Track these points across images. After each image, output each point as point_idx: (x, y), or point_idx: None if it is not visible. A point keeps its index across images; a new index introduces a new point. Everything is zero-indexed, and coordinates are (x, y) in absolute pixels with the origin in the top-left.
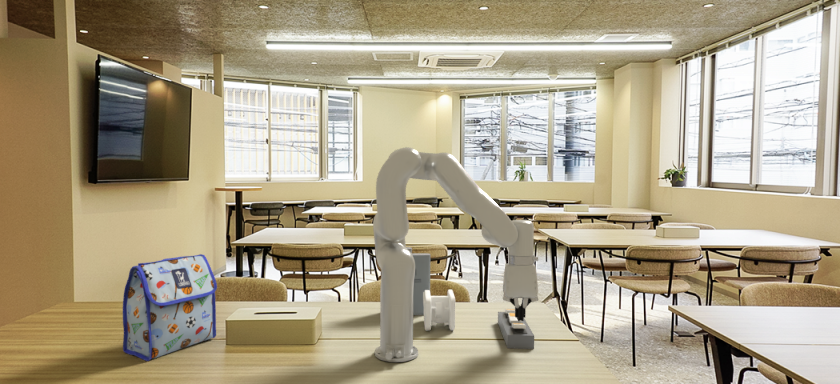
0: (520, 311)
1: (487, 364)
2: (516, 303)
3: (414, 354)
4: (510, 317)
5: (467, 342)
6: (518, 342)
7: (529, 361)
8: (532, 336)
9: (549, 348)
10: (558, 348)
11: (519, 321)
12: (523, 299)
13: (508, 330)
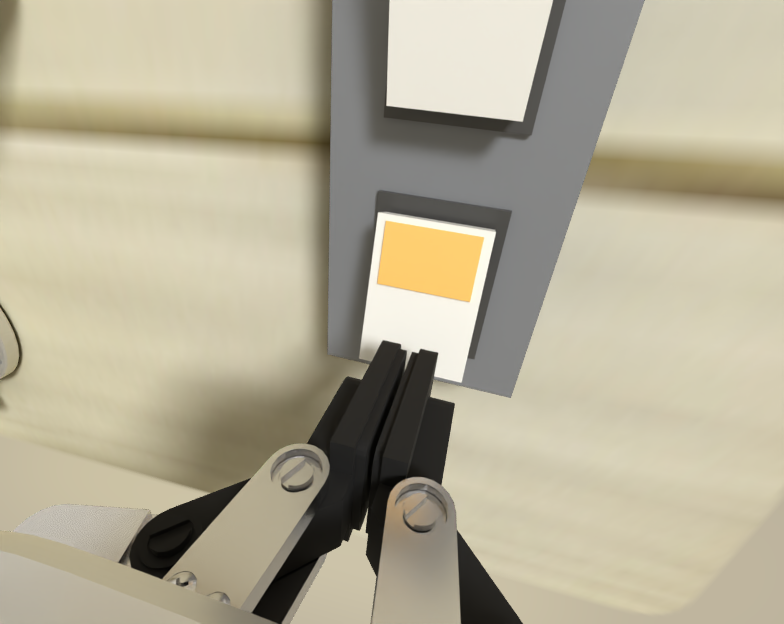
0: (367, 500)
1: (255, 443)
2: (274, 584)
3: (3, 361)
4: (403, 9)
5: (150, 197)
6: None
7: None
8: (497, 391)
9: (616, 354)
10: (682, 364)
11: (497, 114)
12: (392, 618)
13: (350, 266)
